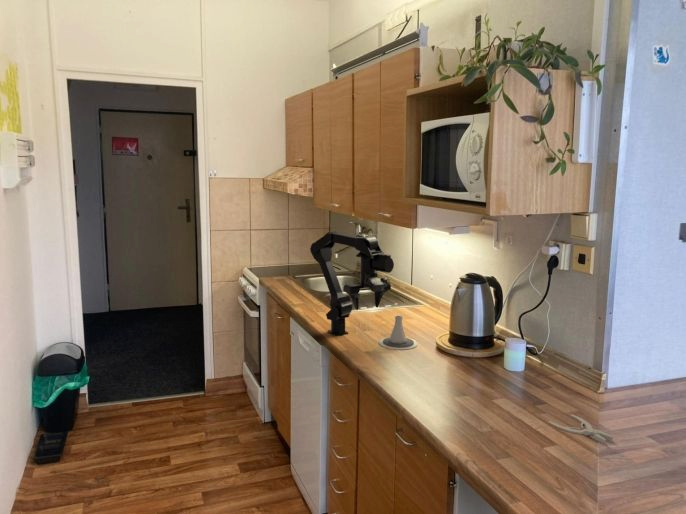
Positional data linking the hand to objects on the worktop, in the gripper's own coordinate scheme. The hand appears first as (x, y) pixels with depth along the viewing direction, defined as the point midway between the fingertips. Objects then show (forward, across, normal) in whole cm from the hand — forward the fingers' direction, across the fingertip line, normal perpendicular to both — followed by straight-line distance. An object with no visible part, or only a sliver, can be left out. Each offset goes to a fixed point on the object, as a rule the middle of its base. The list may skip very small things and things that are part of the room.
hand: (367, 308), depth 220 cm
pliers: (+14, +10, -92) cm, 93 cm away
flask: (+12, +9, -9) cm, 18 cm away
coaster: (+13, +9, -9) cm, 18 cm away
